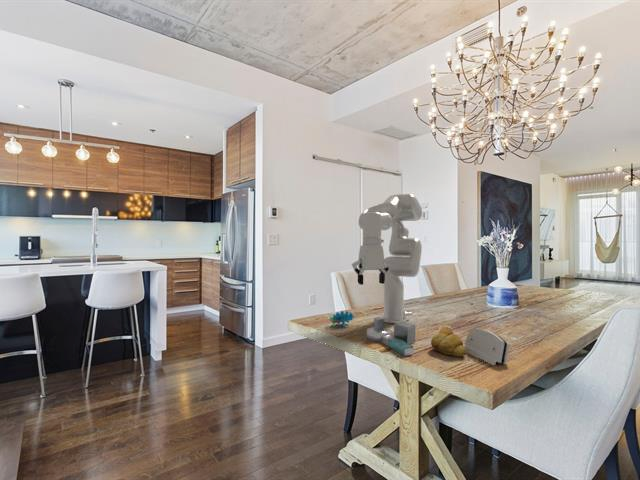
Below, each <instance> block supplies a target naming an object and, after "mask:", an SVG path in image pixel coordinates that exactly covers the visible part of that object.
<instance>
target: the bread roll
mask: <svg viewBox="0 0 640 480" xmlns="http://www.w3.org/2000/svg"><path fill="white" fill-rule="evenodd" d="M430 344H431V347H432V348H433V350H435V351H438V352H439V353H442V354H444V355H450V356H453V357H463V356H465V355H466V354H467V353H466V349H465V347H464V346H463V344H464V341H463V340H462V338H461V337H460V336H459V335H458V334H454V332H453V330H452V329H451V328H449V327H447V326H445V327H441V329H440V330H439V332H438V333H436V334H435V335H433V337H432V338H431V341H430Z"/></svg>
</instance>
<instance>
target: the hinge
mask: <svg viewBox="0 0 640 480" xmlns="http://www.w3.org/2000/svg"><path fill="white" fill-rule="evenodd" d="M463 346H464V347H465V349H466V353H465V354H469V355H470V356H472V357H475V358H477V359H479V358H480V359H479V360H481V359H482V360H481V361H483V360H484V361H483V362H485V361H486V362H485V363H487V362H488V363H487V364H489V363H490V364H489V365H491V364H492V365H491V366H493V365H495V366H496V363H499V364H503V365H505V364H506V365H507V361H508V356H509V351H510V343H509V342H507V340H505V339H504V338H503V337H501V336H500V335H499V334H497V333H495V332H493V331H490V330H487V329H480V328H473V329H470V330H469V331H468V333H467V336H466V338H465V341H464V342H463Z"/></svg>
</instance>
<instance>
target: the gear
mask: <svg viewBox="0 0 640 480" xmlns="http://www.w3.org/2000/svg"><path fill="white" fill-rule="evenodd" d="M353 319H354V315H353V313H352V312H349V310H348V311H347V310H346V311H345V313H344V310H342V311H340V312H339V311H338V312H337V311H336V313H335V314H333V315H332V317H331V316H330V317H329V321H331V323H332V327H333V328H335V325H336V324H338V325H339V324H341V323H342V328H346V324H345V323H350V321H353Z"/></svg>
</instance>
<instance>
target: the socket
mask: <svg viewBox="0 0 640 480" xmlns="http://www.w3.org/2000/svg"><path fill="white" fill-rule="evenodd" d="M393 337H394V338H399V339H400V340H402V341H404V342H406V343H408V344H410V345H412V344H414V343H416V324H415V323H412V322H407V321H406V322H399V323H393Z"/></svg>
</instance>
